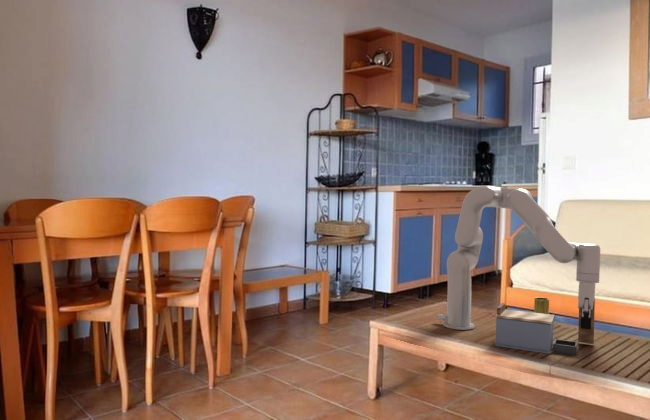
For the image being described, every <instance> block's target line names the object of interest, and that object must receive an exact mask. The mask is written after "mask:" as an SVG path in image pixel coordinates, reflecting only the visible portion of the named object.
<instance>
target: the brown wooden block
mask: <svg viewBox="0 0 650 420" xmlns="http://www.w3.org/2000/svg"><path fill="white" fill-rule="evenodd" d="M584 303H585V302H584ZM588 303H589V301H588ZM595 304H596V298H595V299H594V305H593V309H592V310H591V314H590V318H591V329H583V328H581V317H582V308H580V309H579V308H578V331H577V332H578V334H577V335H578V336H577V338H578V339H577V340H578V341H577V343H581V344H582V343H585V344H592V345H594V344H595V343H594V342H595V313H596V312H595V308H596V307H595V306H596V305H595ZM583 309H584V305H583ZM588 309H590V306H589V308H588ZM588 312H589V311H588Z"/></svg>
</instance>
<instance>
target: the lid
mask: <svg viewBox="0 0 650 420" xmlns="http://www.w3.org/2000/svg"><path fill="white" fill-rule="evenodd" d="M555 316H556V315H555V314H550V313H549V314H542V313H534V311H533V312H531V311H525V310H523V311H522V310H514V309H507V308H506V303H505V302H502V303H500V304H499V305H498V306H497V307H496V314H495V316H494V317H495V319H496V318H505V319H513V320H521V321H529V322H537V323H545V324H552V322H553V320H555Z"/></svg>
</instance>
